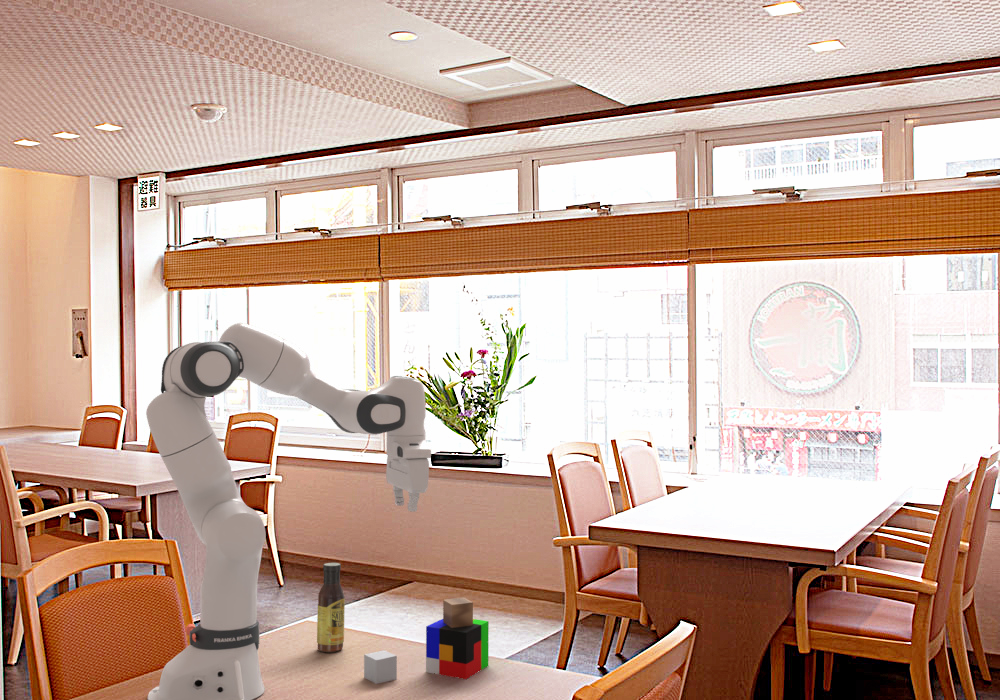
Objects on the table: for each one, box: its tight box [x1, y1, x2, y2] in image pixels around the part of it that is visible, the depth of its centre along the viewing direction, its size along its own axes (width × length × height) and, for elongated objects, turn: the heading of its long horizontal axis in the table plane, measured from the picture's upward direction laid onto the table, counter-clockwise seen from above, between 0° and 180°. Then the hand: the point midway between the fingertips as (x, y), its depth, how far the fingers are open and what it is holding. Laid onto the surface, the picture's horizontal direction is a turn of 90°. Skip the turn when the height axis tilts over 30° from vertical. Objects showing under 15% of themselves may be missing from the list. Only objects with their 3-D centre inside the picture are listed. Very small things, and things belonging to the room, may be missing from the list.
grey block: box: [363, 649, 398, 685], centre depth 202 cm, size 5×5×5 cm
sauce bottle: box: [316, 562, 346, 653], centre depth 222 cm, size 6×6×20 cm
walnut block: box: [442, 596, 474, 628], centre depth 208 cm, size 5×5×5 cm
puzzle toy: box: [425, 618, 490, 680], centre depth 208 cm, size 10×10×10 cm
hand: (405, 508), depth 216 cm, fingers open, 8 cm apart
